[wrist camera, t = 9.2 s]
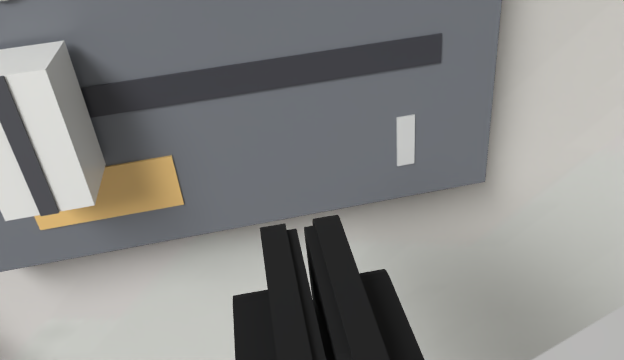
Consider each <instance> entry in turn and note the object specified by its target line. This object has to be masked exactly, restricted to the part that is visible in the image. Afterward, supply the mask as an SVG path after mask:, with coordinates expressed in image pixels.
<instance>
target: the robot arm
mask: <svg viewBox="0 0 624 360" xmlns="http://www.w3.org/2000/svg"><path fill="white" fill-rule="evenodd" d="M260 232H261V240H262V248H263V255H264V263H265V271H266V279H267V286H268V290H263V291H258V292H252V293H246V294H241V295H235V296H233V317H234V339H235V360H424V358H423V355H422V353H421V351H420V348H419V346H418V343H417V341H416V339H415V336H414V334H413V332H412V329H411V327H410V325H409V322H408V320H407V317H406V315H405V313H404V310H403V308H402V306H401V303H400V301H399V298H398V296H397V294H396V291H395V289H394V287H393V284H392V282H391V280H390V277H389V275H388V273H387V271H386V270H385V269H382V270H377V271H371V272H365V273H360V274H359V272H358V269H357V266H356V263H355V260H354V258H353V255H352V252H351V249H350V246H349V243H348V241H347V238H346V235H345V232H344V229H343V226H342V224H341V221H340V218H339V216H338V215H334V216H328V217H322V218H316V219H313V226H309V227H304V233H305V241H306V249H307V258H308V266H309V274H310V282H311V290H312V295H311V291H310V287H309V282H308V278H307V273H306V269H305V265H304V260H303V256H302V251H301V247H300V243H299V238H298V234H297V230H296V229H291V230H286V225H285V224H280V225H274V226H268V227H262V228H260ZM312 298H313V300H312Z"/></svg>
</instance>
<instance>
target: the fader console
mask: <svg viewBox="0 0 624 360" xmlns="http://www.w3.org/2000/svg"><path fill="white" fill-rule="evenodd" d="M501 3H502V0H0V49H7V48H14V47H22V46H29V45H36V44H43V43H50V42H57V41H65V44H66V47H67V50H68V53H69V56H70V59H71V62H72V65H73V68H74V71H75V74H76V77H77V80H78V83H79V86H80V89H81V92H82V95H83V98H84V101H85V104H86V107H87V110H88V113H89V116H90V119H91V122H92V125H93V128H94V131H95V134H96V137H97V140H98V143H99V146H100V149H101V152H102V155H103V158H104V161H105V164H106V165H105V169H104V172H103V176H102V180H101V184H100V188H99V191H98V195H97V199H96V203H95V205H94V206H89V207H83V208H77V209H71V210H66V211H60V212H59V213H57V214H52V215H46V216H40V215H37V216H32V217H26V218H20V219H15V220H9V221H5V219H4V217H3V215H2V213H1V211H0V272H2V271H8V270H13V269H19V268H24V267H29V266H35V265H40V264H45V263H51V262H56V261H62V260H67V259H72V258H78V257H83V256H88V255H94V254H99V253H105V252H110V251H115V250H121V249H126V248H131V247H137V246H142V245H148V244H153V243H158V242H164V241H169V240H174V239H180V238H185V237H191V236H196V235H201V234H207V233H212V232H217V231H223V230H228V229H234V228H239V227H244V226H250V225H255V224H261V223H266V222H271V221H277V220H282V219H287V218H293V217H298V216H304V215H309V214H314V213H320V212H325V211H330V210H336V209H341V208H347V207H352V206H357V205H363V204H368V203H373V202H379V201H384V200H390V199H395V198H400V197H406V196H411V195H416V194H422V193H427V192H433V191H438V190H443V189H449V188H454V187H459V186H465V185H470V184H476V183H481V182H485V177H486V166H487V155H488V144H489V133H490V122H491V112H492V101H493V90H494V79H495V68H496V57H497V47H498V36H499V25H500V14H501Z"/></svg>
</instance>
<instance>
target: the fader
mask: <svg viewBox="0 0 624 360" xmlns="http://www.w3.org/2000/svg"><path fill="white" fill-rule="evenodd" d="M105 165H106V164H105V161H104V158H103V155H102V152H101V149H100V146H99V143H98V140H97V137H96V134H95V131H94V128H93V125H92V122H91V119H90V116H89V113H88V110H87V107H86V104H85V101H84V98H83V95H82V92H81V89H80V86H79V83H78V80H77V77H76V74H75V71H74V68H73V65H72V62H71V59H70V56H69V53H68V50H67V47H66V44H65V41H57V42H50V43H43V44H36V45H29V46H22V47H14V48H7V49H0V211H1V213H2V215H3V217H4V219H5V221H9V220H15V219H20V218H26V217H32V216H37V215H40V216H46V215H52V214H57V213H59V212H60V211H66V210H71V209H77V208H83V207H89V206H94V205H95V203H96V199H97V195H98V191H99V188H100V184H101V180H102V176H103V172H104V169H105Z"/></svg>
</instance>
